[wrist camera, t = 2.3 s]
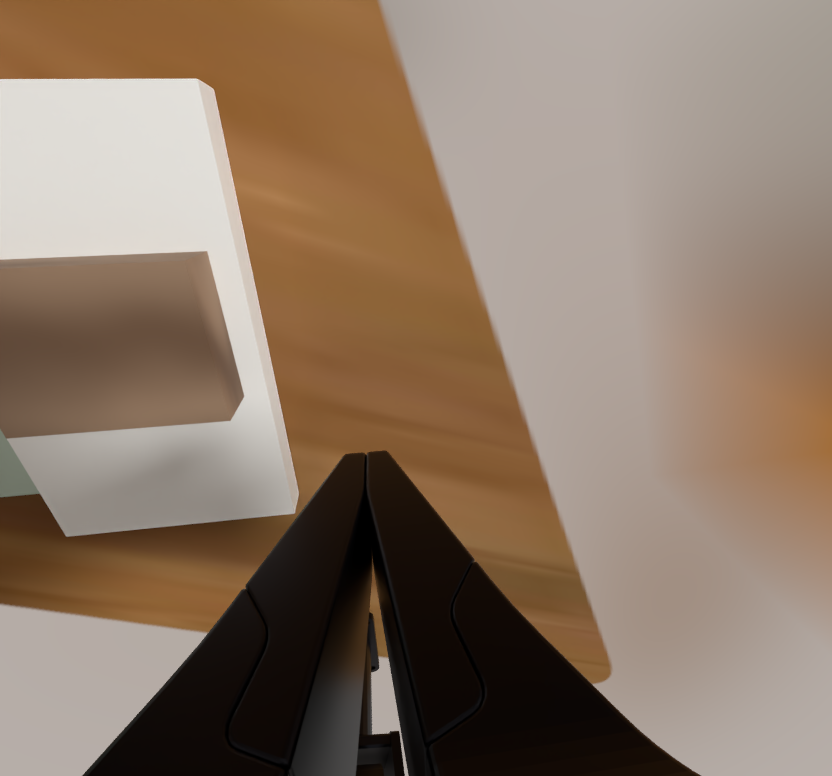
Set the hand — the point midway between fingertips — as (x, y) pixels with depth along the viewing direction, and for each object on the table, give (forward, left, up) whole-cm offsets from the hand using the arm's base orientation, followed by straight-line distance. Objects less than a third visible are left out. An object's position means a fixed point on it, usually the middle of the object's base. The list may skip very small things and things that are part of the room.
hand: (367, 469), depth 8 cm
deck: (-1, +10, -11) cm, 15 cm away
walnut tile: (0, +9, -9) cm, 13 cm away
